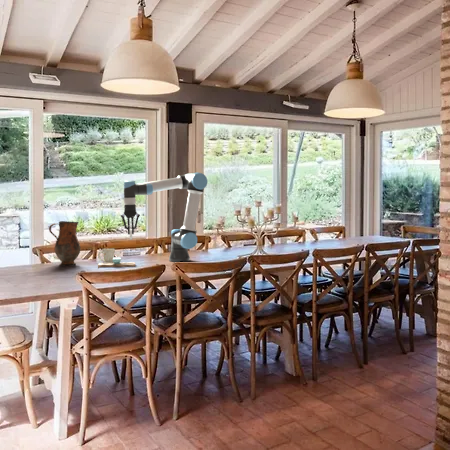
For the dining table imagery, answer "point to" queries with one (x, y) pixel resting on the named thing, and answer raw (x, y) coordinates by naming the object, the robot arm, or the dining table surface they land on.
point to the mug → (107, 255)
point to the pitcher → (67, 243)
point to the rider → (116, 260)
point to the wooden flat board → (116, 265)
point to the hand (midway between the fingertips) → (131, 239)
